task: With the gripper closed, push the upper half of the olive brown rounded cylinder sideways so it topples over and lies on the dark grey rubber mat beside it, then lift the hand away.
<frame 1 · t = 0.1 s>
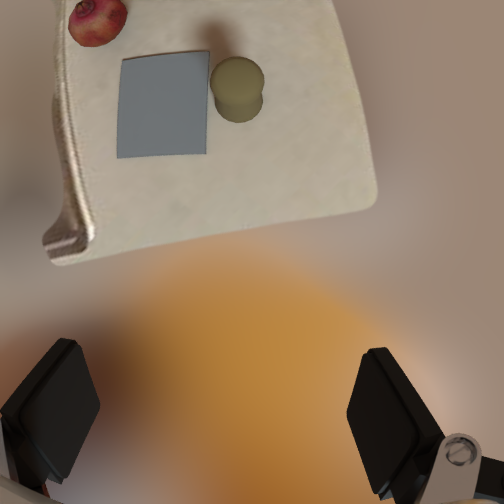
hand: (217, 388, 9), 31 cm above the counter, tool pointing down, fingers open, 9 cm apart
olive brown rounded cylinder: (238, 100, 34), on the counter
grey mat: (161, 103, 34), on the counter
fruit: (110, 31, 30), on the counter
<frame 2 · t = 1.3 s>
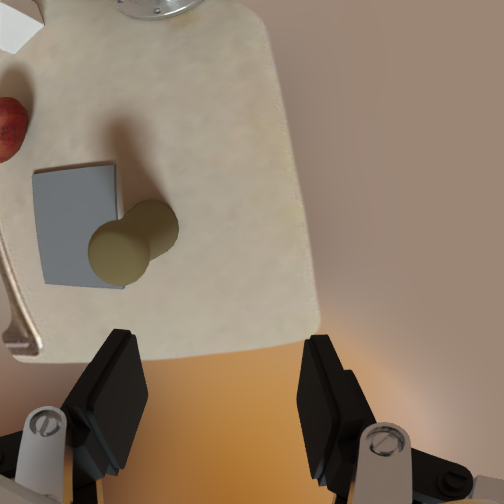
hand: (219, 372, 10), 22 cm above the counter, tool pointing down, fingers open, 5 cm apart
olive brown rounded cylinder: (152, 227, 31), on the counter
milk: (26, 28, 22), on the counter
grey mat: (74, 229, 30), on the counter
fruit: (20, 131, 27), on the counter
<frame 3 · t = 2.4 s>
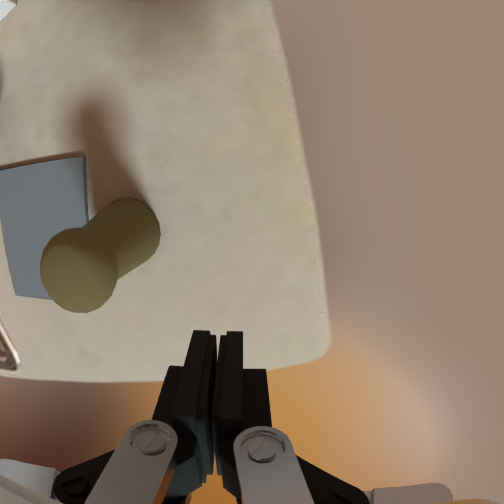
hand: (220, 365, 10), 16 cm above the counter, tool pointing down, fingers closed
olive brown rounded cylinder: (129, 231, 25), on the counter
grey mat: (42, 233, 24), on the counter
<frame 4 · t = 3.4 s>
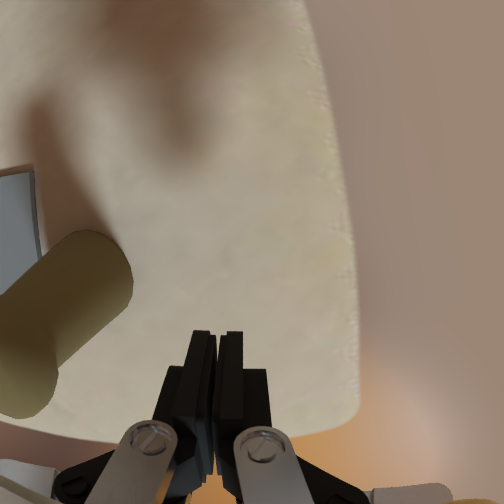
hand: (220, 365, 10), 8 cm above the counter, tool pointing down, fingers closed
olive brown rounded cylinder: (92, 275, 17), on the counter
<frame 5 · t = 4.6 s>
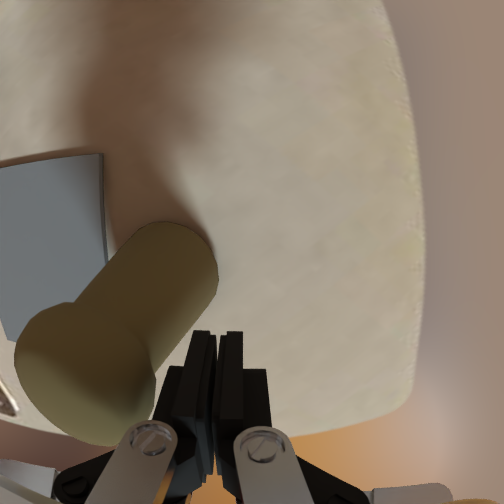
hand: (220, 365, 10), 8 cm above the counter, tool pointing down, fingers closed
olive brown rounded cylinder: (169, 271, 17), on the counter, touching gripper
grey mat: (38, 264, 17), on the counter
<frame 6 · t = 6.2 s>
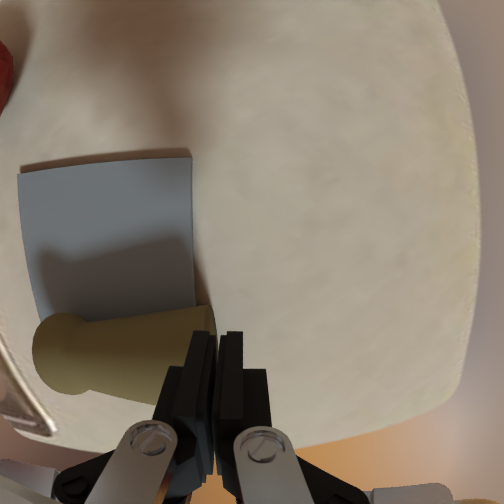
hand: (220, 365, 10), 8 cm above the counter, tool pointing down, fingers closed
olive brown rounded cylinder: (216, 359, 15), point 3 cm above the counter, touching grey mat
grey mat: (101, 278, 17), on the counter
fruit: (1, 98, 13), on the counter
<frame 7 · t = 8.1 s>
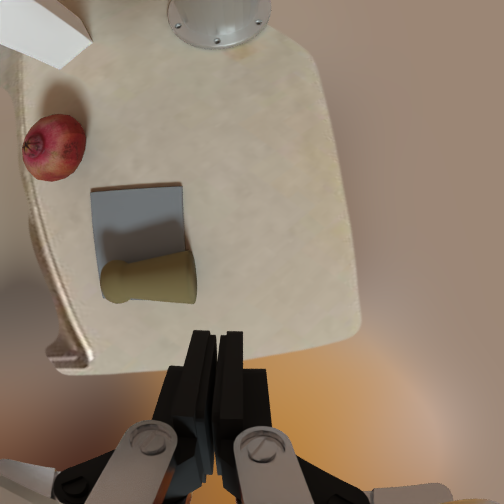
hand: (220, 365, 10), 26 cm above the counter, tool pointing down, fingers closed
olive brown rounded cylinder: (193, 276, 33), point 3 cm above the counter, touching grey mat
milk: (70, 44, 28), on the counter
grey mat: (138, 245, 35), on the counter
fruit: (73, 148, 32), on the counter
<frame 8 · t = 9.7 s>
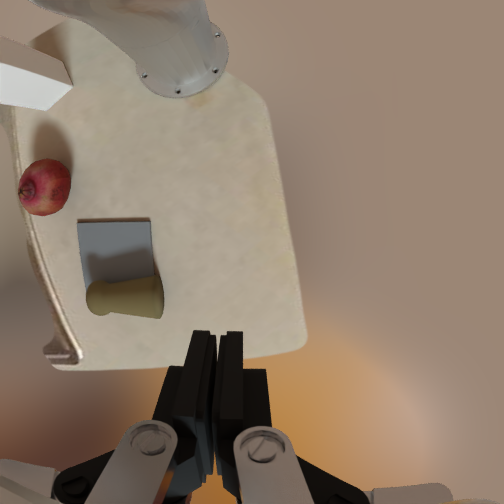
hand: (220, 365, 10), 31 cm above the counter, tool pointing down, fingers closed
olive brown rounded cylinder: (159, 296, 40), point 3 cm above the counter, touching grey mat
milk: (54, 86, 33), on the counter
grey mat: (116, 268, 41), on the counter
fruit: (61, 184, 38), on the counter
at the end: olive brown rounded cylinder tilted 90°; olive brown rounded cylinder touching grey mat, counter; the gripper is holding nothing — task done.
